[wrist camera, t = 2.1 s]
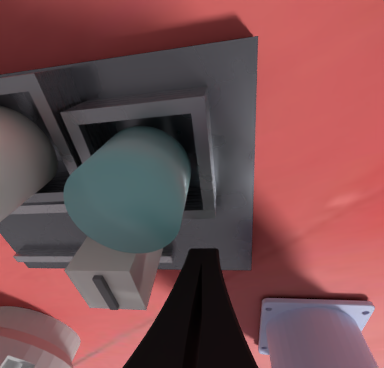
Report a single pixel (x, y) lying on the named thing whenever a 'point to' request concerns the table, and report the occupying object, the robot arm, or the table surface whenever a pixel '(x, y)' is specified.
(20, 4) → the table surface
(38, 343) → the flag stand
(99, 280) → the fader knob
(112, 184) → the teal button
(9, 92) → the panel
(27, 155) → the white button
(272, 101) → the table surface
